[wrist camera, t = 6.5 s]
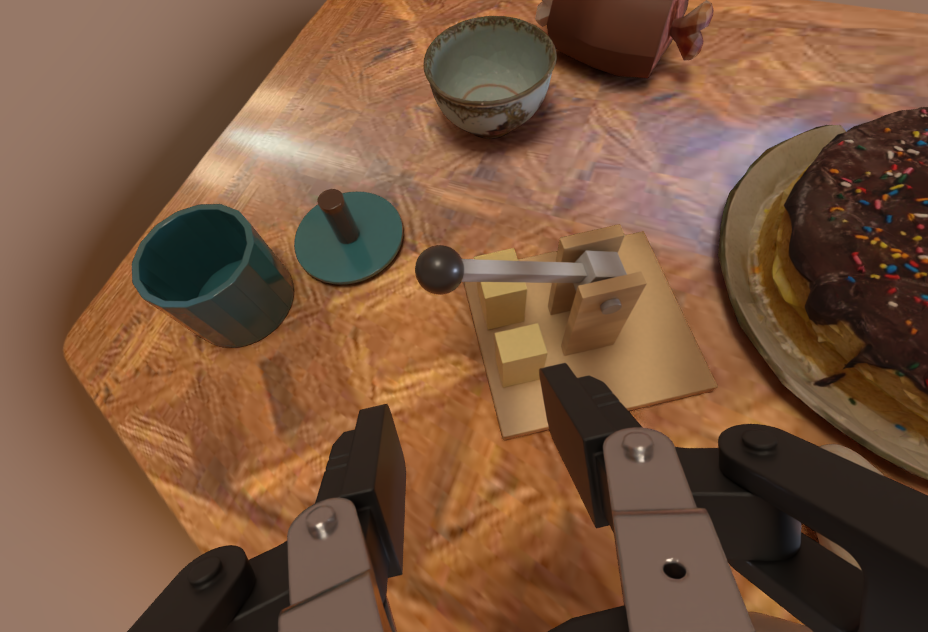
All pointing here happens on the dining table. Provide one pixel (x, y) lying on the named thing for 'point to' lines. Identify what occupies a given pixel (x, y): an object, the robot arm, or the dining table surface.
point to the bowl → (490, 73)
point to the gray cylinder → (774, 624)
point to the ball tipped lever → (510, 270)
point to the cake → (841, 276)
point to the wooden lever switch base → (600, 333)
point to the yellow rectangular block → (520, 354)
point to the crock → (213, 275)
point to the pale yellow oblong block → (502, 296)
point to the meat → (623, 31)
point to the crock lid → (348, 237)
